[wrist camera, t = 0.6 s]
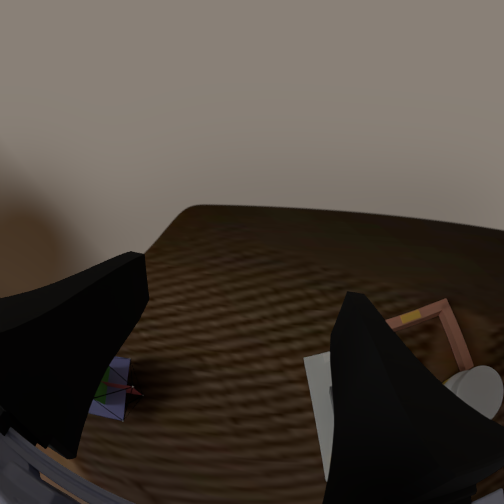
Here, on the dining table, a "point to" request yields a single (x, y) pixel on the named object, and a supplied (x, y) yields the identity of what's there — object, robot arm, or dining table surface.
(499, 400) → the supplement bottle
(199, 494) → the dining table surface
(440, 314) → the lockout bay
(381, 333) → the robot arm
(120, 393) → the geometric puzzle
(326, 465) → the panel
